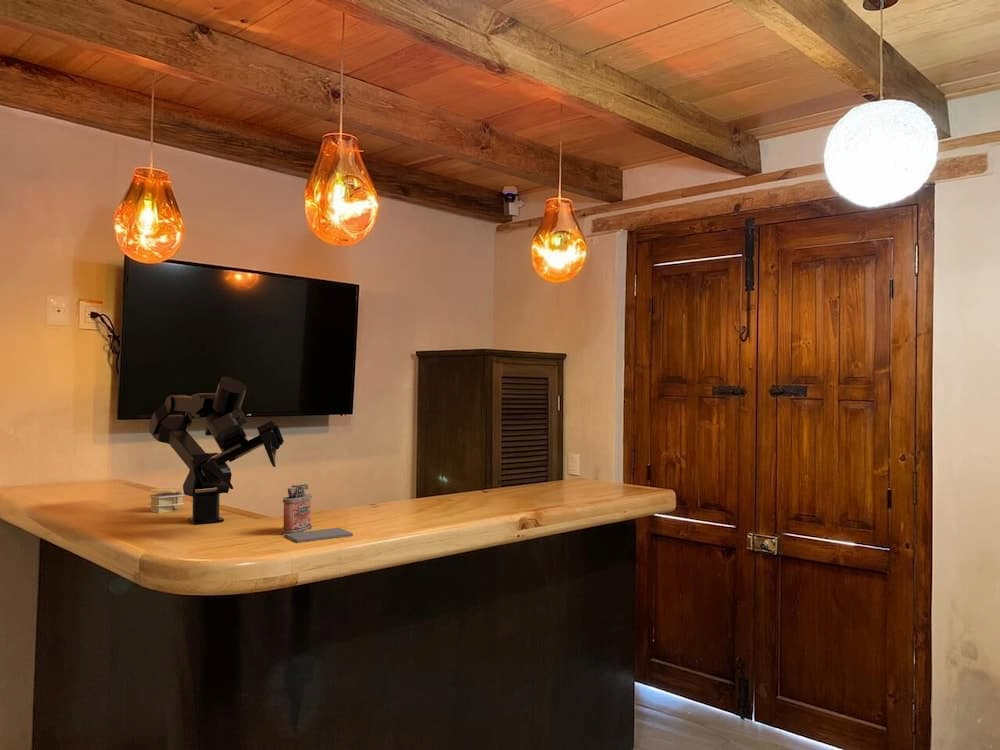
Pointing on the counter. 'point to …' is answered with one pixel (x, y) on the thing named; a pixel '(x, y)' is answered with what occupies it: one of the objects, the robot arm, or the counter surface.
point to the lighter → (297, 510)
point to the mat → (318, 535)
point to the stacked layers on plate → (165, 500)
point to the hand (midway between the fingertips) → (253, 476)
